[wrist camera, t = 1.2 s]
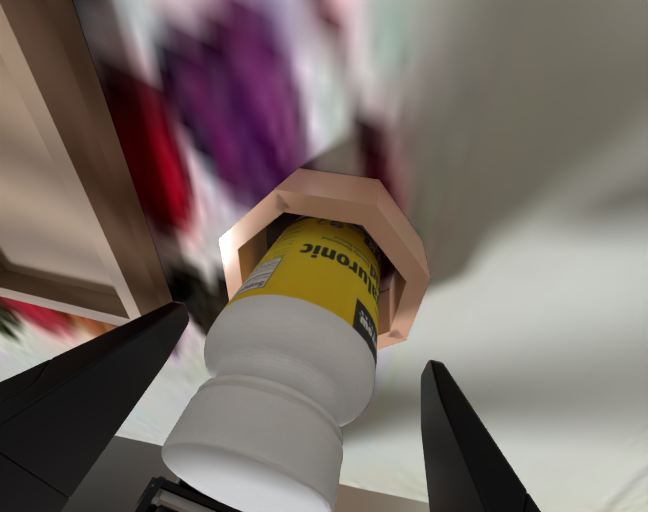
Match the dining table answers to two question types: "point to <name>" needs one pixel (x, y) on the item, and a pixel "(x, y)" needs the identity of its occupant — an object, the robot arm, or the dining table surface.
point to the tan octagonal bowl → (346, 206)
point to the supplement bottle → (285, 374)
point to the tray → (66, 177)
